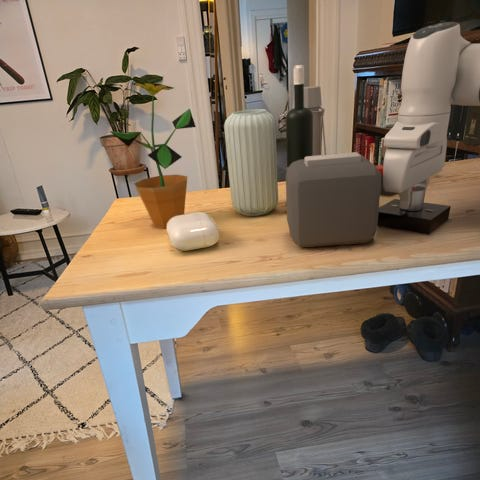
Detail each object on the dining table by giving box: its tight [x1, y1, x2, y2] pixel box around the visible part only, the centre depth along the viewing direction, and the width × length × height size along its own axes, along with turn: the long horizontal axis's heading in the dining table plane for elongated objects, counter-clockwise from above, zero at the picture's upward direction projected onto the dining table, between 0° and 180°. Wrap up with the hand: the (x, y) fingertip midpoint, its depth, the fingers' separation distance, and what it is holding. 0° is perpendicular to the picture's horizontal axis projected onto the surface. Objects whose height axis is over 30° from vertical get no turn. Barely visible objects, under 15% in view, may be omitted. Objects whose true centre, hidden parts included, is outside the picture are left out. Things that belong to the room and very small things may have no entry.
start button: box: [375, 164, 384, 176], centre depth 106 cm, size 4×4×2 cm
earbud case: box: [165, 211, 220, 252], centre depth 85 cm, size 10×13×5 cm
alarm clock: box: [285, 151, 381, 248], centre depth 77 cm, size 16×11×16 cm
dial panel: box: [377, 198, 452, 236], centre depth 85 cm, size 12×10×3 cm
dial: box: [400, 185, 427, 211], centre depth 83 cm, size 4×4×4 cm
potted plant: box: [109, 81, 197, 229], centre depth 92 cm, size 18×19×30 cm
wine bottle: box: [285, 64, 313, 169], centre depth 91 cm, size 6×6×30 cm
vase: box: [223, 108, 279, 217], centre depth 96 cm, size 12×12×22 cm
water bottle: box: [292, 85, 327, 156], centre depth 107 cm, size 9×8×25 cm
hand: (411, 204), depth 83 cm, fingers closed on dial, 4 cm apart
